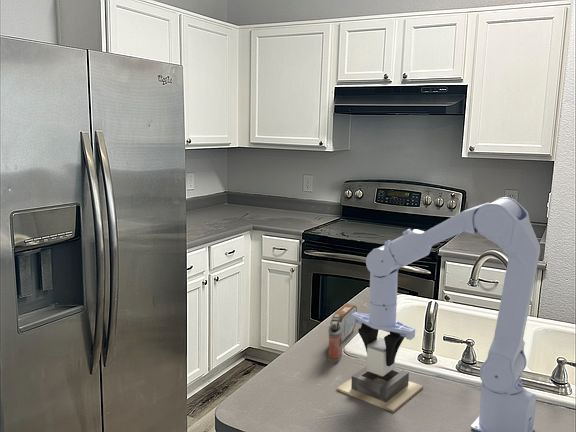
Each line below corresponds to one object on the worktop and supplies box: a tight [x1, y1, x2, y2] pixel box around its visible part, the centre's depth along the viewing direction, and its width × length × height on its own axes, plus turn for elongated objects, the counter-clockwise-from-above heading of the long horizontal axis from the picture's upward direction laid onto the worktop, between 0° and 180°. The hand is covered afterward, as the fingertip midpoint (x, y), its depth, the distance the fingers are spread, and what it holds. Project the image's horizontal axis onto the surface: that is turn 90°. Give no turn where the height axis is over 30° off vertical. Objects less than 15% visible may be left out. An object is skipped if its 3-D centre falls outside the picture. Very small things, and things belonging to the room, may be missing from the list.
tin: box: [329, 302, 358, 343], centre depth 144 cm, size 15×3×8 cm, turn 153°
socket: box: [336, 365, 424, 414], centre depth 117 cm, size 14×13×4 cm
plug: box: [366, 337, 396, 376], centre depth 116 cm, size 4×5×6 cm
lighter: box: [327, 313, 343, 364], centre depth 133 cm, size 8×3×10 cm, turn 168°
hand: (380, 361), depth 117 cm, fingers closed on plug, 4 cm apart
